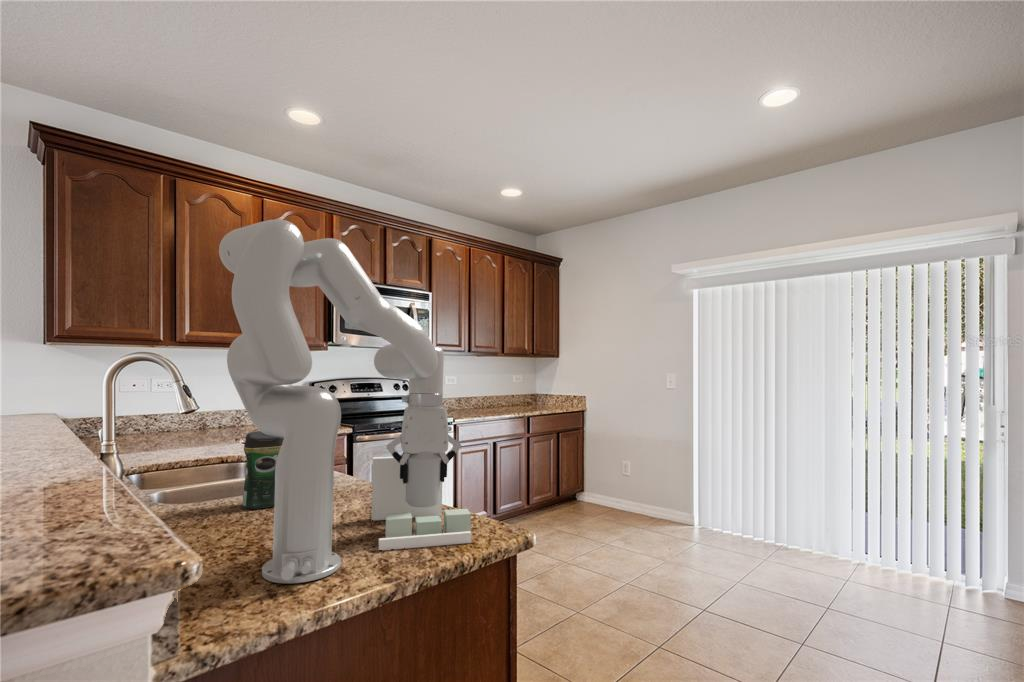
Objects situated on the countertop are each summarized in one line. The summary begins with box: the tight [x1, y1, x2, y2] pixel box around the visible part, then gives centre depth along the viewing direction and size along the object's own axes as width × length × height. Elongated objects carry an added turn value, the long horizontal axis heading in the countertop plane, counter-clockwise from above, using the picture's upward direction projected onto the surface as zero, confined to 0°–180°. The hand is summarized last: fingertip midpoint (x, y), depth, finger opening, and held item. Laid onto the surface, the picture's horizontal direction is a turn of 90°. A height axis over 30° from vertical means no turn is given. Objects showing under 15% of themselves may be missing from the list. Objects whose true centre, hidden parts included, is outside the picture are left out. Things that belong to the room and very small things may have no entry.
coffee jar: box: [242, 430, 284, 510], centre depth 130 cm, size 10×8×19 cm
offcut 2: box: [443, 508, 472, 533], centre depth 108 cm, size 4×5×5 cm
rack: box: [371, 455, 472, 551], centre depth 111 cm, size 22×19×14 cm
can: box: [406, 452, 441, 507], centre depth 114 cm, size 8×8×12 cm
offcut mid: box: [414, 516, 443, 536], centre depth 106 cm, size 4×5×4 cm
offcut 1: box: [384, 512, 413, 538], centre depth 104 cm, size 4×5×5 cm
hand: (423, 481), depth 114 cm, fingers closed on can, 7 cm apart
